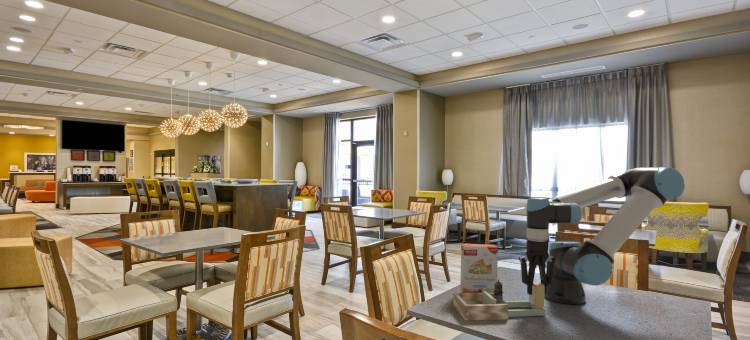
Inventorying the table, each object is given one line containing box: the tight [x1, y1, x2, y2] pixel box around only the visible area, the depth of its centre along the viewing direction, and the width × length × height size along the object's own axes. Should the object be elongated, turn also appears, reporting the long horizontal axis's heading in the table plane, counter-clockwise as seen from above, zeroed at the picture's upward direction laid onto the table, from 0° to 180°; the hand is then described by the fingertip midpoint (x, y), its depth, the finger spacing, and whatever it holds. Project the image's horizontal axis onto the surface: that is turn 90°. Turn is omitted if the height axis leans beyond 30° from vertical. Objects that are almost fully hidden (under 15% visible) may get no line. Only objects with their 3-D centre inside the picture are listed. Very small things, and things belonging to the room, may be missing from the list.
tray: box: [482, 280, 546, 317], centre depth 144 cm, size 20×10×10 cm, turn 96°
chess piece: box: [493, 278, 507, 304], centre depth 144 cm, size 6×6×12 cm
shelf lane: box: [453, 293, 509, 321], centre depth 143 cm, size 15×13×5 cm
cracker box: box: [459, 243, 499, 293], centre depth 162 cm, size 14×6×21 cm, turn 88°
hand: (536, 302), depth 145 cm, fingers closed on tray, 3 cm apart
